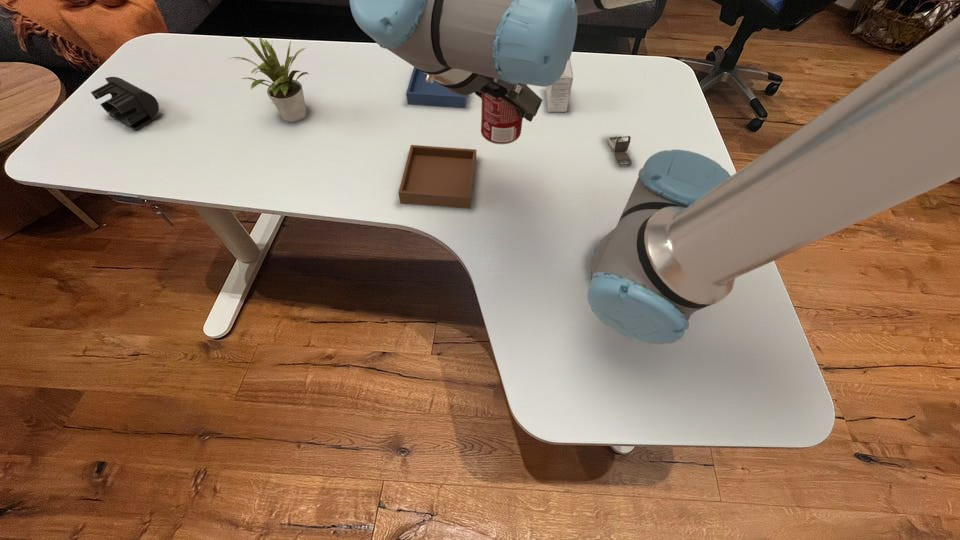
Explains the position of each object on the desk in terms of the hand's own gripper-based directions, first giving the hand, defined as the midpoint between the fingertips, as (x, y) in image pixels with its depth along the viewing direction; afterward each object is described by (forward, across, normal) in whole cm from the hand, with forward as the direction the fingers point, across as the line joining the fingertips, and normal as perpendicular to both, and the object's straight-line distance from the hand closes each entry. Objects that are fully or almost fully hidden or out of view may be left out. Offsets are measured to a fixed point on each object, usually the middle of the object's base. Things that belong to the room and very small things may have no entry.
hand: (513, 104), depth 72 cm
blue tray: (+23, -28, 0) cm, 37 cm away
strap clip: (+26, +16, +2) cm, 30 cm away
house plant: (+5, -50, -19) cm, 54 cm away
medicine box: (+31, -3, +8) cm, 32 cm away
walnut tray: (+6, -10, -17) cm, 21 cm away
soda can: (0, 0, -5) cm, 5 cm away
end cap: (-8, -76, -32) cm, 83 cm away
